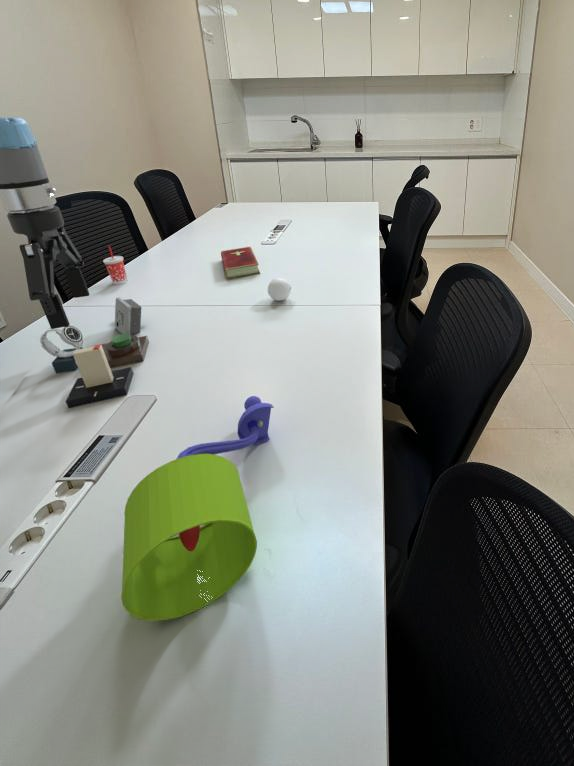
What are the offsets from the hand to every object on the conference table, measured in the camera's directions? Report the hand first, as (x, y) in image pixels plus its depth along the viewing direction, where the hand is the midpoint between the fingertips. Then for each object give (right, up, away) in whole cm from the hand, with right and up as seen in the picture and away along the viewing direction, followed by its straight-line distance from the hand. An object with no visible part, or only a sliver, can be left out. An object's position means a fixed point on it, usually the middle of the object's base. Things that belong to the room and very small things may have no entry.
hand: (72, 310), depth 79 cm
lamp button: (-2, -10, +19) cm, 22 cm away
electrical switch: (-8, -9, +32) cm, 34 cm away
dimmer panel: (+1, -19, +8) cm, 21 cm away
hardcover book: (+10, +10, +73) cm, 74 cm away
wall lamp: (+37, -29, -16) cm, 49 cm away
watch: (-13, -16, +17) cm, 27 cm away
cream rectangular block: (0, -17, +8) cm, 19 cm away
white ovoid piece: (+31, -1, +48) cm, 57 cm away
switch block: (-3, -14, +20) cm, 24 cm away
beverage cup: (-31, +4, +63) cm, 70 cm away
